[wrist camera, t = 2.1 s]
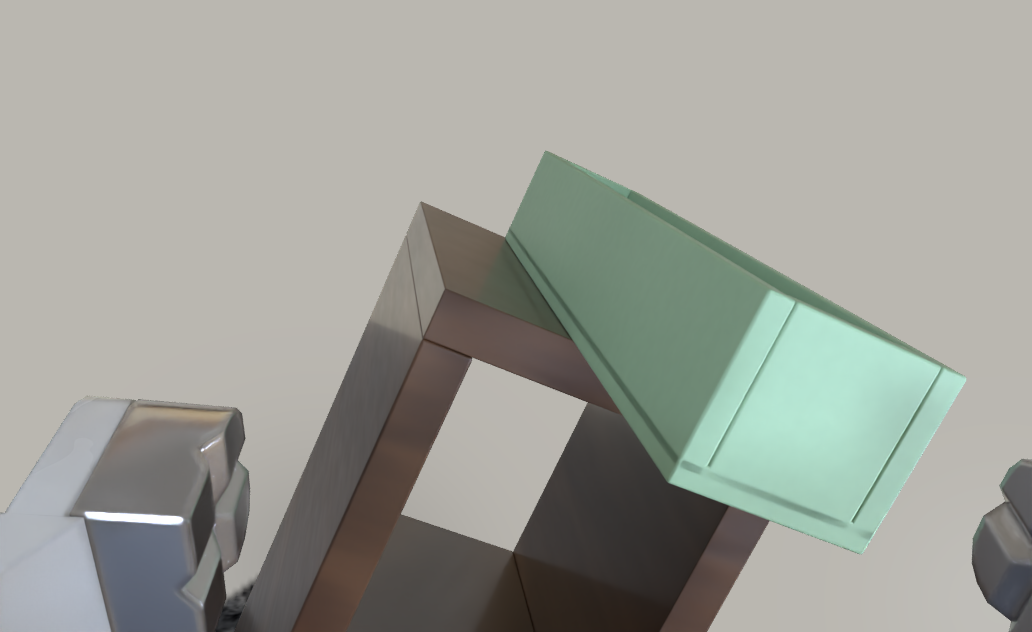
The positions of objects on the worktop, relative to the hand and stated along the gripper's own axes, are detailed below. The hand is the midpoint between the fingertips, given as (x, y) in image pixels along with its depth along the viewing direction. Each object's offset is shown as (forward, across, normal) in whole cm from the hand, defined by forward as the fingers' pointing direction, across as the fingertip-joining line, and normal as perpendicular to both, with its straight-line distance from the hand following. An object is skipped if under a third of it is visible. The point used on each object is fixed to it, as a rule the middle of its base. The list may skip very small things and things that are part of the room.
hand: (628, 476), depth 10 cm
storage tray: (+15, +3, -9) cm, 18 cm away
